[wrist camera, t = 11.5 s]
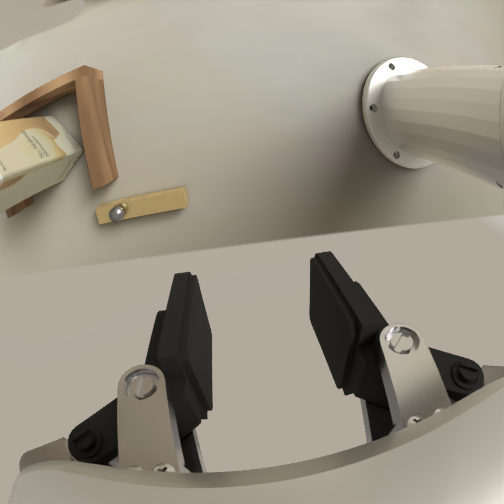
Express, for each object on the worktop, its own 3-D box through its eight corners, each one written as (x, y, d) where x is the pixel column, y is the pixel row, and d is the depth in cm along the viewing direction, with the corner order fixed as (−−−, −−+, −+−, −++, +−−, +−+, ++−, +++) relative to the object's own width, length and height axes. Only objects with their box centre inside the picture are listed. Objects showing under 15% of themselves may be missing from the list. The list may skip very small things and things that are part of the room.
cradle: (102, 71, 18) (84, 65, 15) (118, 176, 23) (102, 186, 20) (10, 116, 18) (-12, 120, 14) (27, 205, 23) (7, 217, 19)
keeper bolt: (185, 186, 24) (182, 193, 22) (188, 202, 25) (185, 211, 23) (101, 203, 24) (90, 212, 22) (105, 218, 25) (95, 228, 22)
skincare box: (85, 149, 22) (6, 179, 11) (63, 181, 23) (-12, 227, 12) (50, 112, 19) (-33, 124, 8) (30, 145, 20) (-49, 173, 9)
